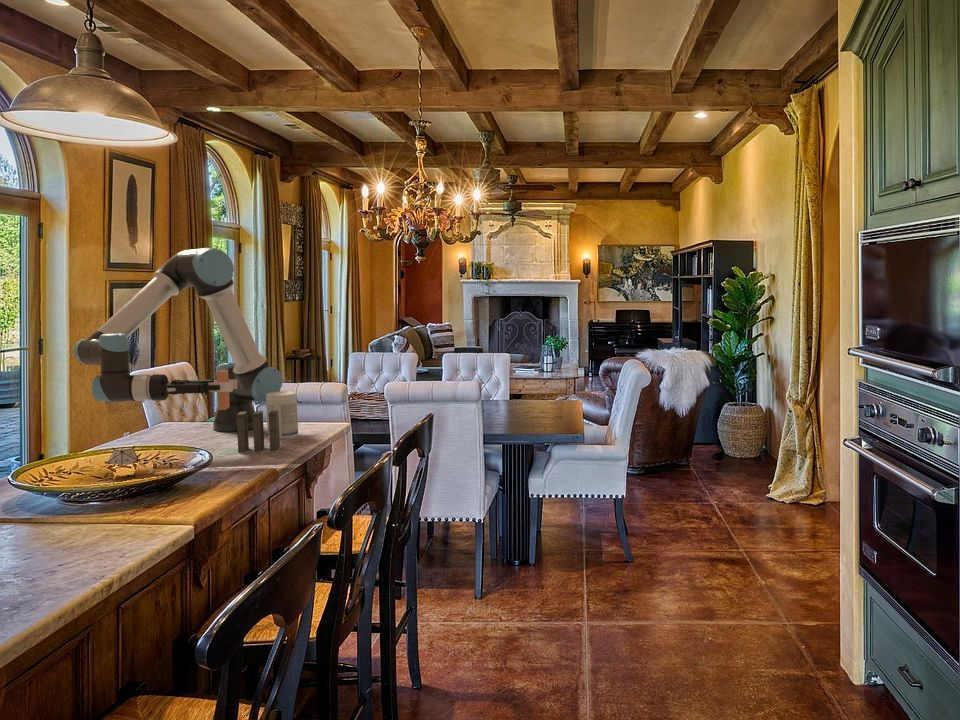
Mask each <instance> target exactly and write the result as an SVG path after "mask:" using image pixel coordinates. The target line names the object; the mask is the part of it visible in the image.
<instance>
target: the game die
mask: <svg viewBox="0 0 960 720" xmlns="http://www.w3.org/2000/svg"><path fill="white" fill-rule="evenodd" d="M135 448H136V445H133V446H132V448H119V449H116V448H115V447H112V453H111V455H110V456H109V458H108V461H104V464H107V465H108V464H114V465H115V464H118V465H123V464H130V463H134V462H138V461H139V462H141V458H138V455H137V453H136V451H135V450H134V449H135Z"/></svg>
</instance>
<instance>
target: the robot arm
mask: <svg viewBox="0 0 960 720" xmlns="http://www.w3.org/2000/svg"><path fill="white" fill-rule="evenodd" d="M234 267H235V266H234V263H233V260H232V258H231V257H230V256H229V255H228V254H227V253H226V252H225V251H224V250H221V249H219V248H214V247H203V248H202V247H201V248H195V249H192V248H191V249H184V250H182V251H179V252H177V253H176V254H175V255H173V256H172V257H170V258H168V260H167V261H166V262H165V263H163V264H162V265H161V266H160V267H159V268H158V269H157V270H155V272H153V276H152V277H153V278H152V279H151V280H150V281H149V282H147V283H146V285H145V286H144V287H142V288H141V289H140V290H139V291H138V292H137V293H136V294H135V295H134V296H132V298H130V299H129V300H128V301H127V302H126V303H125V304H124V305H123V306H122V307H120V309H118V311H116V312H115V313H114V314H113V315H112V316H111V317H110V318H109V319H108V320H106V321H105V322H104V323H103V324H102V325H101V326H99V328H98V329H97V330H95V332H93V333H92V334H91V335H90V336H88V338H84V339H83V338H82V339H80V340H78V341H77V342H76V343H75V344H74V346H73V350H72V352H73V356H74V358H75V360H76V361H77V362H79V363H81V364H84V365H87V366H99V367H100V375H97V376H95V377H94V378H93V380H92V385H91V394H92V398H94V399H95V401H97V402H101V403H102V402H104V403H105V402H109V403H120V402H121V403H122V402H123V403H124V402H140V404H144V403H145V401H147V402H148V401H154V402H156V401H158V402H159V401H166V400H167V399H168V397H169V395H172V396H173V395H174V396H175V395H178V394H179V395H184V394H204V395H205V396H209V393H216V399H217V400H216V401H217V405H218V392H229V402H230V407H229V408H227V409H226V410H218V406H217V407H216V411H215V414H214V415H215V416H214V419H213V424H212V425H213V426H212V427H213V430H214V431H217V432H237V414H238V413H239V412H247V418H248V431H250V430H253V413H254V412H256V411H255V408H254V404H253V401H255V402H258V403H264V402H265V403H266V394H268V393H272V392H281V388H282V386H283V376H282V374H281V372H280V371H279V370H278V369H277V368H275V367H273V366H271V365H270V362H269V361H268V357H267V356H265V355H262V354H261V353H260V351H259V349H258V346H257V344H256V342H255V340H254V337H253V336H252V332H251V330H250V329H249V327H248V325H247V322H246V319H245V317H244V315H243V312H242V311H241V308H240V306H239V304H238V301H237V299H236V296H235V294H234V293H233V290H232V289H233V286H234V283H235V282H234V280H233V276H234V272H235V268H234ZM190 287H193V288H194V290H195V292H196V294H197V297H198V298H201V299H203V300H205V302H206V304H207V307H208V308H209V311H210V313H211V314H212V315H211V316H212V317H213V320H214V322H215V324H216V326H217V328H218V330H219V332H220V334H221V337H222V339H223V341H224V343H225V346H226V347H227V350H228V352H229V354H230V356H231V358H232V362H227V363H219V364H218V365H216V368H215V377H212V378H211V379H181V380H180V379H173V380H171V381H169V377H168V376H167V375H166V374H164V373H163V374H160V373H159V374H152V375H151V374H131V372H130V371H131V369H130V346H129V339H128V338H129V337H130V336H131V335H132V334H133V333H134V332H135V331H136V330H138V328H139V327H141V326H142V324H143V323H145V322H146V320H148V319H149V318H150V317H151V316H152V315H154V313H155V312H157V310H158V309H160V308H161V306H163V304H165V303H166V302H167V301H168V300H169V299H171V297H172V296H178V295H179V294H180V293H181V292H183V291H185V289H188V288H190ZM220 370H228V379H229V382H217V372H218V371H220Z"/></svg>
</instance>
